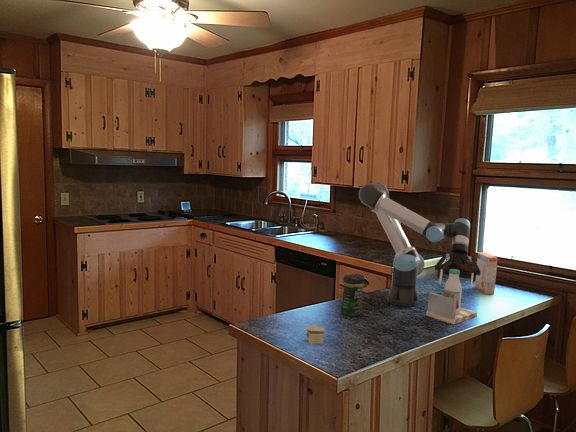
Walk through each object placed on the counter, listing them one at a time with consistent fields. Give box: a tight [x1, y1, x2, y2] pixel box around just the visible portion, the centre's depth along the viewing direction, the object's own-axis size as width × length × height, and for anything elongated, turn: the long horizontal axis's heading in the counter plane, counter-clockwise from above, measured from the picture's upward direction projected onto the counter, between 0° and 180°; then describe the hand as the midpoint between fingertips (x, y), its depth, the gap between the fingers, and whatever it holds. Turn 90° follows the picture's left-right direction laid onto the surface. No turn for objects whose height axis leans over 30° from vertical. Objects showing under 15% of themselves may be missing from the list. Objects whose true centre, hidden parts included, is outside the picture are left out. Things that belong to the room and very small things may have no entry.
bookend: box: [427, 291, 457, 320], centre depth 211 cm, size 2×13×9 cm, turn 40°
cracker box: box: [474, 252, 499, 295], centre depth 264 cm, size 14×6×21 cm, turn 179°
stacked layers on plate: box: [305, 325, 325, 345], centre depth 179 cm, size 10×9×6 cm
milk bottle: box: [443, 268, 463, 314], centre depth 216 cm, size 8×8×20 cm
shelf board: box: [425, 306, 478, 325], centre depth 217 cm, size 20×14×2 cm
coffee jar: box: [340, 273, 365, 317], centre depth 213 cm, size 10×8×19 cm
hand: (455, 284), depth 216 cm, fingers open, 13 cm apart
